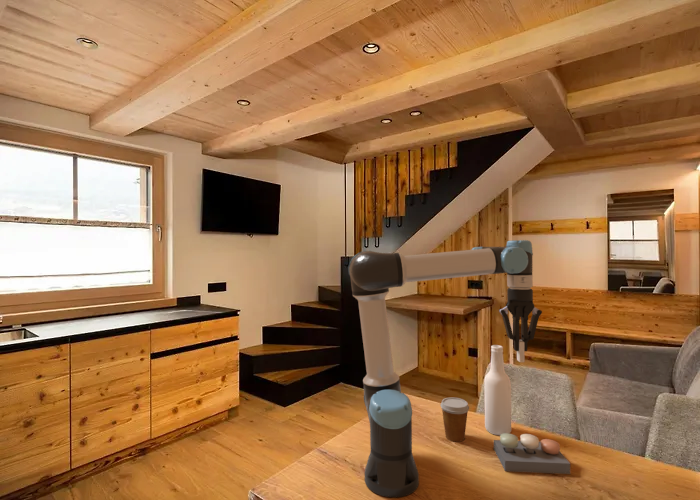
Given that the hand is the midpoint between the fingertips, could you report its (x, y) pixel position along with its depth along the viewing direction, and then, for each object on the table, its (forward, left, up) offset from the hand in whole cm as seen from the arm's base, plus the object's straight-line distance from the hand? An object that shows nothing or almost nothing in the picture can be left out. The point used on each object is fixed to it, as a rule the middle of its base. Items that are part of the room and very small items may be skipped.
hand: (520, 360), depth 121 cm
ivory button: (0, -7, -26) cm, 27 cm away
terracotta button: (+6, -7, -28) cm, 29 cm away
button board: (0, -7, -28) cm, 29 cm away
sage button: (-6, -7, -26) cm, 28 cm away
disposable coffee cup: (-20, +6, -29) cm, 35 cm away
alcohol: (-4, +12, -29) cm, 31 cm away
